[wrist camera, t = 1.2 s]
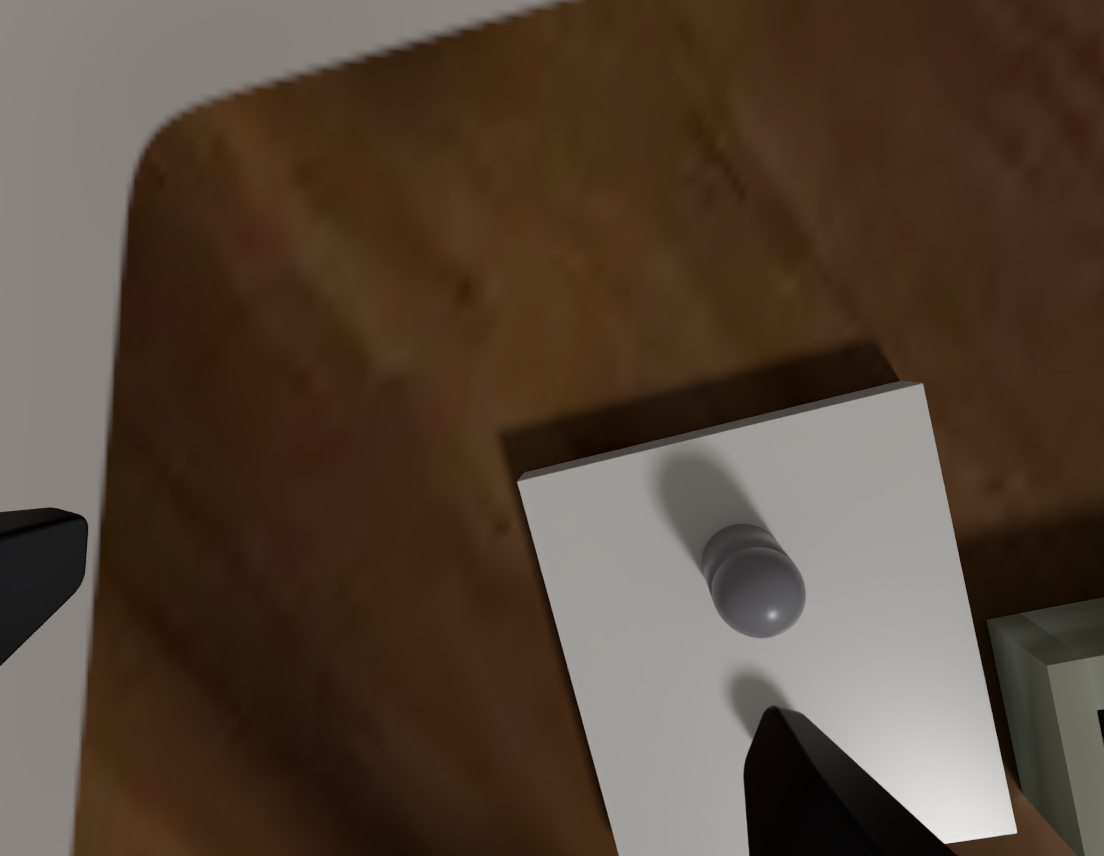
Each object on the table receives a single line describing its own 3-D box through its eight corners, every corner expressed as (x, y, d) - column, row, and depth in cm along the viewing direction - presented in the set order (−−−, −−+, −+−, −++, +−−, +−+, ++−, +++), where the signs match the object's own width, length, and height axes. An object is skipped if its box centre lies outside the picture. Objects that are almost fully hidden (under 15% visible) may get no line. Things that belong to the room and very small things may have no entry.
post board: (990, 799, 21) (1099, 935, 16) (628, 855, 23) (629, 995, 18) (900, 380, 20) (990, 391, 15) (524, 472, 22) (494, 509, 17)
